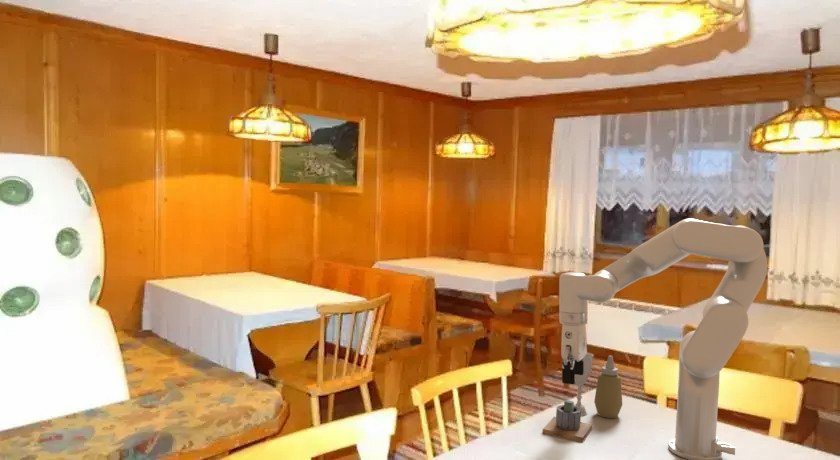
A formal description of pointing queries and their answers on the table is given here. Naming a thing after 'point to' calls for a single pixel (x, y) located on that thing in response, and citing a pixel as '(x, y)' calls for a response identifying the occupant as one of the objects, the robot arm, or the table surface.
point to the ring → (568, 419)
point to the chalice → (583, 381)
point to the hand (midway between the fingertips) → (573, 378)
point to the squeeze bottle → (608, 391)
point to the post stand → (573, 435)
